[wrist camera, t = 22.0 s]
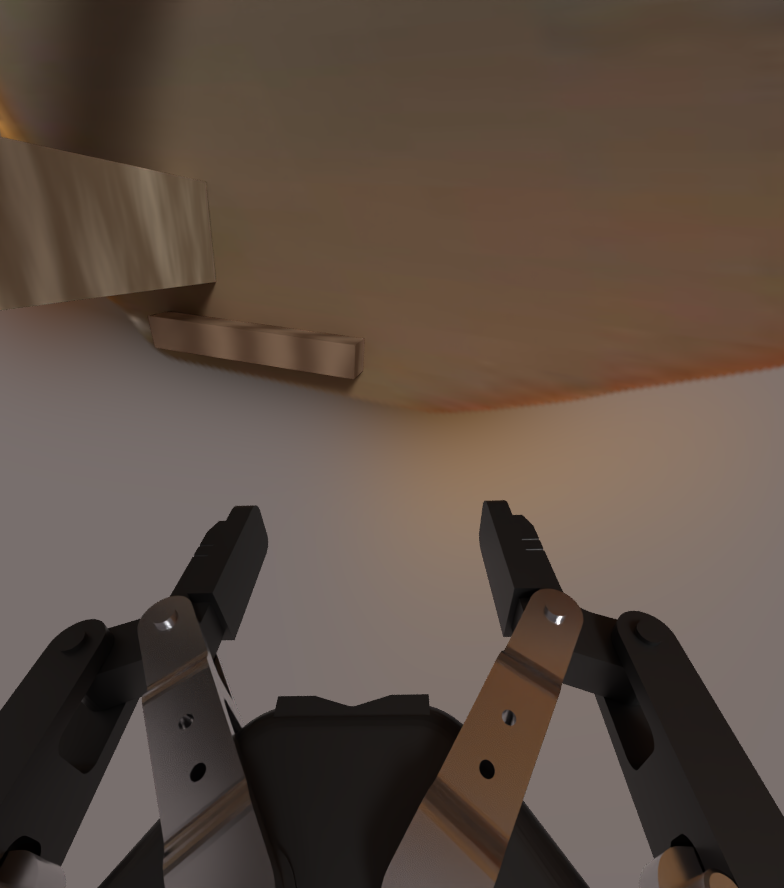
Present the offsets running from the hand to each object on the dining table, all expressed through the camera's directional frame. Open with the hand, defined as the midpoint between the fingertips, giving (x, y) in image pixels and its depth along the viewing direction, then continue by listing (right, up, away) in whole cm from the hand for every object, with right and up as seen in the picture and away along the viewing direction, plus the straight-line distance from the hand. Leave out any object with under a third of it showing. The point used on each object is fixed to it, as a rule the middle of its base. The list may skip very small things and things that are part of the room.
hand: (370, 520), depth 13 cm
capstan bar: (-14, +15, +29) cm, 35 cm away
